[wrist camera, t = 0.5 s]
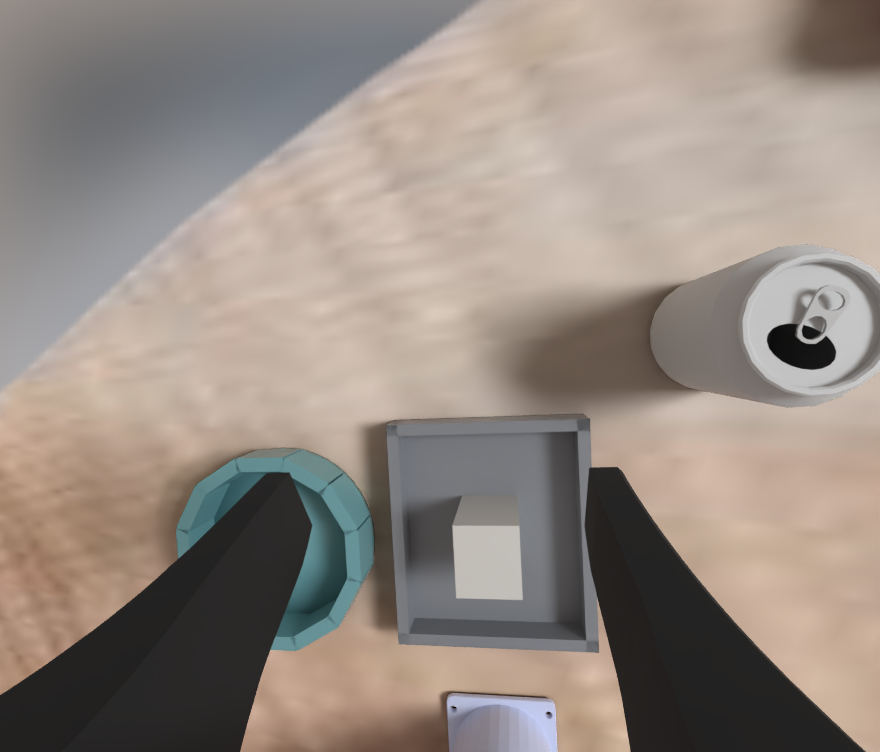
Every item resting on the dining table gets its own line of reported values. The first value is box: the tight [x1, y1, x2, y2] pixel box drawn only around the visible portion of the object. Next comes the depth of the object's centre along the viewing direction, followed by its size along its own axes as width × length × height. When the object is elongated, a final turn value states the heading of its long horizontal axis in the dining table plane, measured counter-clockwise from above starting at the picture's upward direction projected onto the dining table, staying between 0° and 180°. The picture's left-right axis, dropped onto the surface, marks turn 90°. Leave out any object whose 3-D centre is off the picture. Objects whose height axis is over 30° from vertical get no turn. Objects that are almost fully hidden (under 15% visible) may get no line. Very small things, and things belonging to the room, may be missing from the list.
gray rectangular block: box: [452, 495, 523, 600], centre depth 31 cm, size 4×4×6 cm
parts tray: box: [386, 414, 599, 653], centre depth 33 cm, size 16×14×2 cm
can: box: [650, 244, 880, 408], centre depth 25 cm, size 8×8×12 cm
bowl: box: [176, 448, 375, 651], centre depth 35 cm, size 14×14×4 cm
